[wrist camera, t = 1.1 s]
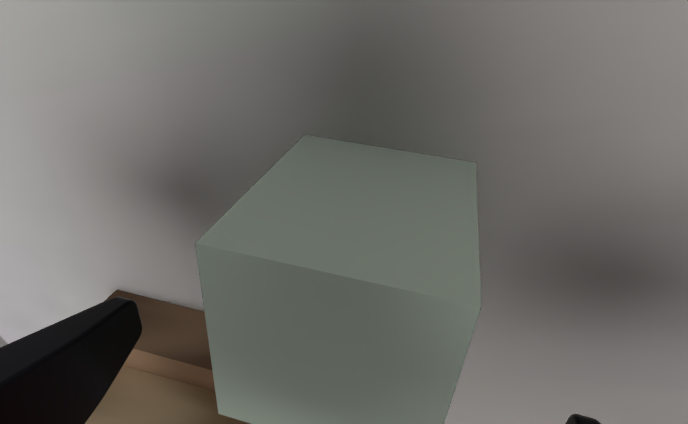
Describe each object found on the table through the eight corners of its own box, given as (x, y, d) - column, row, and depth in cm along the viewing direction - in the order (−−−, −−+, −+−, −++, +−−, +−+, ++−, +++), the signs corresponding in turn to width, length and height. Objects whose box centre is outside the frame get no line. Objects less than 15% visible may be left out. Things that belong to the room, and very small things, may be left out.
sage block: (475, 162, 12) (481, 306, 7) (441, 297, 14) (426, 476, 9) (305, 134, 13) (195, 243, 8) (301, 266, 15) (218, 413, 10)
